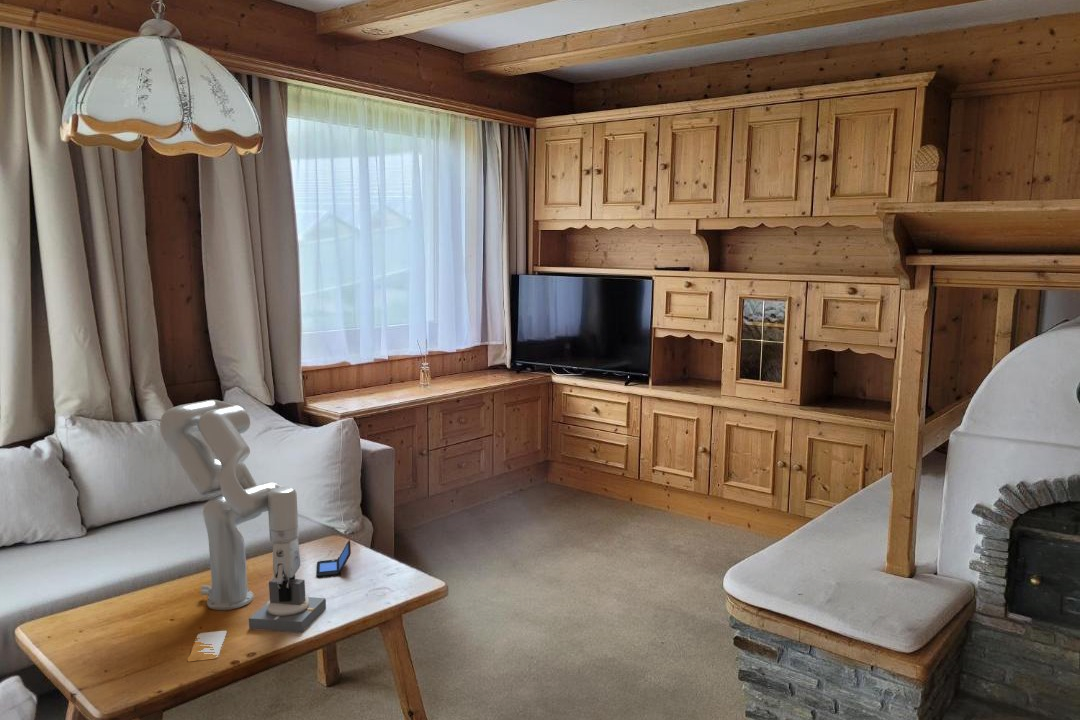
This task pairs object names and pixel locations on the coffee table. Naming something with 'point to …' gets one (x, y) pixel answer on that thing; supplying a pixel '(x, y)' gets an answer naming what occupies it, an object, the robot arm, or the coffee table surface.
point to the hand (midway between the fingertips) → (287, 597)
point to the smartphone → (212, 641)
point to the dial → (297, 596)
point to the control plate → (288, 618)
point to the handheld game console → (333, 564)
